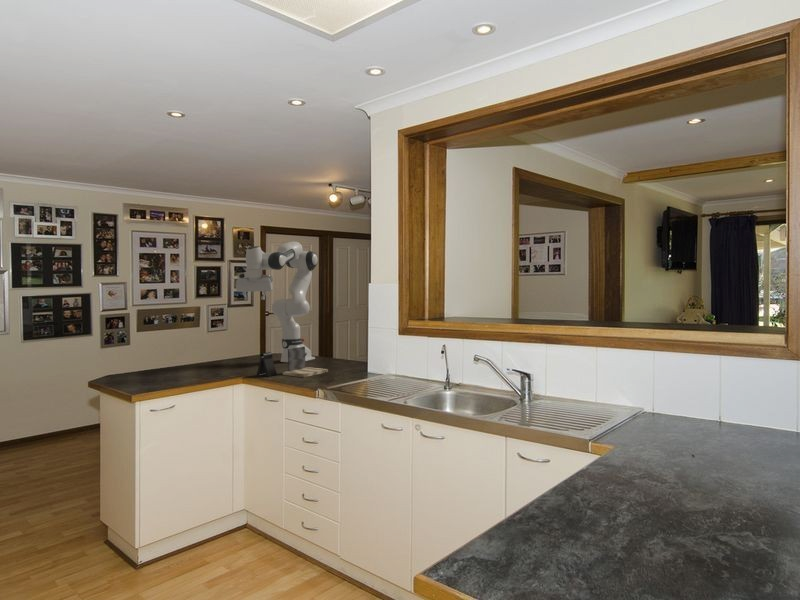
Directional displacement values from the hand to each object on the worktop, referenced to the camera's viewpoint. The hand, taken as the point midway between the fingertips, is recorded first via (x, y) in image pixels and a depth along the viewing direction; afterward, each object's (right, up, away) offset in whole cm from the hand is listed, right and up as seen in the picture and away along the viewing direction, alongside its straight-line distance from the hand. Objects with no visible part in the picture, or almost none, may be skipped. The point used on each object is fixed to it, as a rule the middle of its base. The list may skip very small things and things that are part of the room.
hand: (254, 299), depth 299 cm
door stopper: (+10, -41, -14) cm, 44 cm away
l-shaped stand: (+30, -40, -11) cm, 51 cm away
